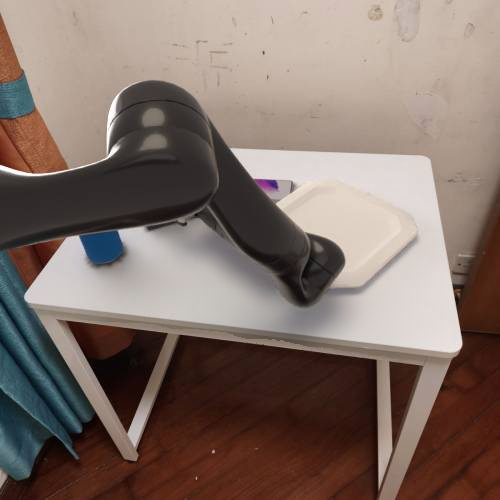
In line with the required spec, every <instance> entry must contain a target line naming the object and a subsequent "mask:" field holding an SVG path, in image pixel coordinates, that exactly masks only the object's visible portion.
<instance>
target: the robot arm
mask: <svg viewBox="0 0 500 500" xmlns="http://www.w3.org/2000/svg"><path fill="white" fill-rule="evenodd" d="M254 179H255V178H253V177H252V175H251V174H250V173H249V172H248V170H247V169H246V168H245V167H244V164H242V163H241V161H240V160H239V159H238V157H237V156H236V155H235V153H234V152H233V151H232V149H231V148H230V146H228V144H227V142H226V141H225V139H224V138H223V136H222V135H221V133H220V132H219V131H218V128H217V127H216V126H215V124H214V123H213V121H212V119H211V118H210V116H209V115H208V113H207V112H206V110H205V109H204V108H203V106H202V104H201V103H200V102H199V100H198V99H197V98H196V97H195V96H194V95H193V94H192V93H190V92H189V90H186V89H185V88H184V87H181V86H179V85H177V84H175V83H173V82H169V81H166V80H159V79H147V80H140V81H138V82H135V83H132V84H130V85H128V86H127V87H125V88H123V89H122V90H121V91H120V92H119V93H118V94H117V95H116V96H115V98H114V99H113V100H112V103H111V106H110V109H109V112H108V118H107V128H106V158H103V159H101V160H99V161H96V162H93V163H89V164H87V165H86V164H85V165H82V166H79V167H75V168H70V169H66V170H61V171H56V172H48V173H28V172H24V171H20V170H16V169H13V168H10V167H8V166H7V167H6V166H4V165H0V252H5V251H9V250H14V249H19V248H22V247H23V248H24V247H28V246H32V245H36V244H42V243H47V242H52V241H56V240H62V239H67V238H72V237H79V235H86V234H94V233H101V232H109V231H116V230H118V231H122V230H123V231H124V230H129V229H131V230H132V229H137V228H145V227H147V226H151V225H158V224H163V223H168V222H172V221H175V222H176V224H177V225H179V226H181V227H186V226H187V225H188V221H189V220H190V218H191V219H193V218H192V217H194V218H196V219H197V218H198V219H200V220H201V221H202V222H203V223H204V225H206V226H207V228H209V229H211V230H212V231H214V233H216V234H217V235H218V236H220V237H221V238H222V239H224V240H225V241H226V242H228V244H231V245H232V246H233V247H235V248H236V249H238V250H239V252H241V253H242V254H243V256H245V257H246V258H248V259H249V260H250V261H251V262H252V263H254V264H256V265H257V266H259V267H260V268H261V269H263V270H264V271H266V273H268V275H269V276H270V279H271V280H272V282H273V284H274V286H275V288H276V289H277V291H278V292H279V294H280V295H281V296H282V297H283V298H284V299H285V300H286V301H287V303H289V304H290V305H292V306H294V307H297V308H300V309H309V308H312V307H315V306H316V305H317V304H319V302H320V301H321V300H322V299H323V297H324V296H325V294H327V291H328V290H329V289H330V288H329V287H330V286H331V285H332V283H333V282H334V281H335V278H337V277H338V276H339V274H340V273H341V271H342V270H343V268H344V266H345V263H346V259H345V255H344V253H343V251H342V249H341V248H340V247H339V246H338V245H337V244H336V243H335V242H333V241H332V240H330V239H328V238H325V237H322V236H319V235H316V234H312V233H307V232H304V231H303V230H302V229H301V228H300V227H299V226H298V225H297V224H296V223H295V222H294V221H293V220H292V219H291V218H290V217H289V216H288V215H287V214H285V213H284V212H283V211H282V210H281V209H280V208H279V207H278V206H277V205H276V203H274V202H273V201H272V200H271V198H270V197H269V196H268V195H267V194H266V193H265V192H264V191H263V190H262V188H261V187H260V186H259V185H258V184H257V183H256V181H255V180H254Z"/></svg>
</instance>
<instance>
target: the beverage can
mask: <svg viewBox="0 0 500 500" xmlns="http://www.w3.org/2000/svg"><path fill="white" fill-rule="evenodd" d="M78 237H79V240H80V242H81V245H82V247H83V249H84V252H85V254H86V257H87V258H88V260H90V262H92V263H95V264H107V263H111V262H113V261H115V260H116V259H118V258H119V257H120V256H121V254H122V253H123V251H124V244H123V242H122V239H121V236H120V233H119V230H116V231H109V232H101V233H94V234H86V235H79V236H78Z"/></svg>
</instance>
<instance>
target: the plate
mask: <svg viewBox="0 0 500 500" xmlns="http://www.w3.org/2000/svg"><path fill="white" fill-rule="evenodd" d="M275 204H276V205H277V206H278V207H279V208H280V209H281V210H282V211H283V212H284V213H285V214H287V215H288V216H289V217H290V218H291V219H292V220H293V221H294V222H295V223H296V224H297V225H298V226H299V227H300V228H301V229H302V230H303V231H304V232H307V233H312V234H316V235H319V236H322V237H325V238H328V239H330V240H332V241H333V242H335V243H336V244H337V245H338V246H339V247H340V248H341V249H342V251H343V253H344V255H345V259H346V263H345V266H344V268H343V270H342V271H341V273H340V274H339V276H338V277H337V278H335V281H334V282H333V283H332V285H331V286H330V287H329V289H359V288H361V287H363V286H365V285H366V284H367V283H368V281H370V280H371V279H372V278H373V277H374V276H375V275H376V274H378V272H380V271H381V270H382V269H383V268H384V267H385V266H386V265H387V264H389V262H390V261H392V260H393V258H395V257H397V255H398V254H399V253H400V252H401V251H402V250H403V249H404V248H405V247H406V246H408V245H409V244H410V243H411V242H412V241H413V240H414V239H415V238H416V237H417V236H418V235H419V233H420V232H419V229H418V226H417V223H416V221H415V218H414V216H413V215H412V214H411V213H410V212H409V211H406V210H405V209H403V208H400V207H398V206H396V205H394V204H391V203H390V202H387V201H386V200H383V199H380V198H378V197H377V196H375V195H372V194H371V193H368V192H366V191H364V190H361V189H359V188H357V187H355V186H353V185H351V184H348V183H347V182H345V181H342V180H340V179H338V178H319V179H318V178H317V179H315V178H314V179H311V180H309V181H307V182H305V183H304V184H302V185H301V186H300V187H298V188H296V189H294V190H293V191H292V193H291V194H289V195H288V196H286V197H285V198H283V199H282V200H280V201H279V202H277V203H275Z"/></svg>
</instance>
